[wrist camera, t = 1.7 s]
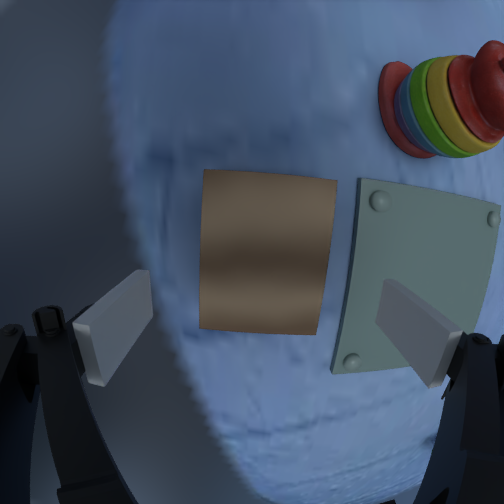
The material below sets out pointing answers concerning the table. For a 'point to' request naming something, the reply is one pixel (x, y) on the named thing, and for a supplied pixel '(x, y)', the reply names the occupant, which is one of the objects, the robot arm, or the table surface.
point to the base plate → (412, 264)
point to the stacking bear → (445, 103)
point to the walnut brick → (264, 251)
